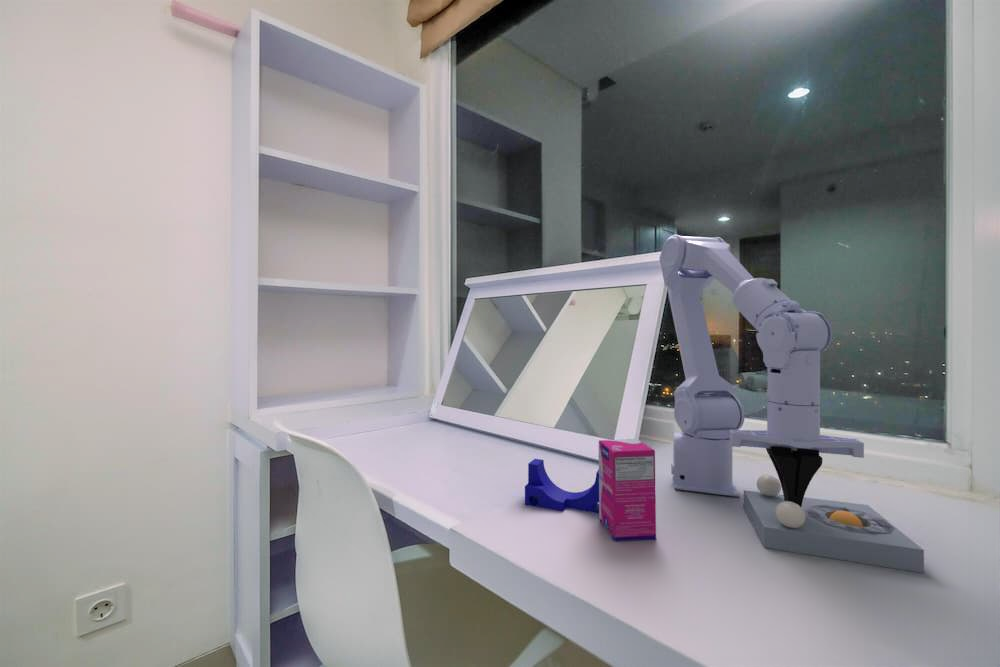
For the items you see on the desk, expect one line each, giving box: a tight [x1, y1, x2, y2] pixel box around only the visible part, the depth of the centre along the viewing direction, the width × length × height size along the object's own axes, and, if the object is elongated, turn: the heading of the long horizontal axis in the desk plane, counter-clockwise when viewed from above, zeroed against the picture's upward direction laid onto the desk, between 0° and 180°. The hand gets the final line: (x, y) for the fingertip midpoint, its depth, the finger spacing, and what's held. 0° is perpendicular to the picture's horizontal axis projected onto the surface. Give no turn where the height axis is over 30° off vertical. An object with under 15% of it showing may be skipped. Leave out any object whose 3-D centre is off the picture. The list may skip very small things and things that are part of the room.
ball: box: [829, 511, 863, 527], centre depth 53 cm, size 3×3×3 cm
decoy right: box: [776, 501, 806, 528], centre depth 51 cm, size 3×3×3 cm
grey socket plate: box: [743, 489, 925, 574], centre depth 54 cm, size 15×13×2 cm
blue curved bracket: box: [524, 458, 599, 514], centre depth 63 cm, size 12×4×6 cm, turn 66°
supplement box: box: [598, 438, 657, 542], centre depth 55 cm, size 6×6×12 cm
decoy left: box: [756, 474, 782, 497], centre depth 61 cm, size 3×3×3 cm
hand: (792, 505), depth 55 cm, fingers closed
